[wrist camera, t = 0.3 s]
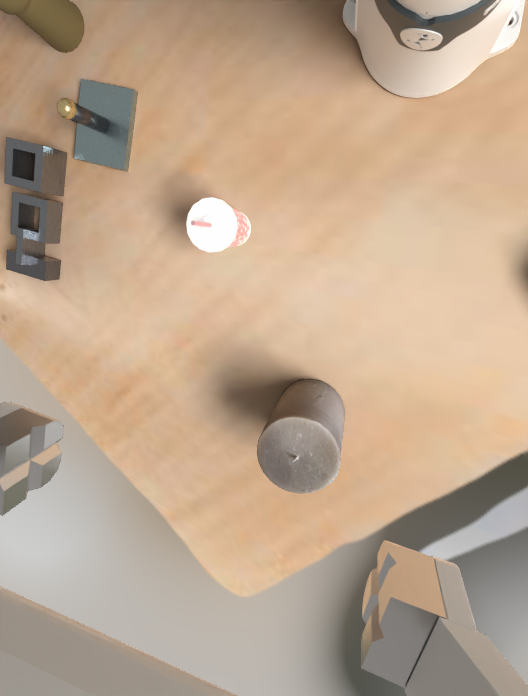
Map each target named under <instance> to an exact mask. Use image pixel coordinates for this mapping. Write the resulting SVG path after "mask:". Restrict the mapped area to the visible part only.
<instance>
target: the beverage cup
mask: <svg viewBox="0 0 528 696" xmlns="http://www.w3.org/2000/svg"><path fill="white" fill-rule="evenodd" d="M186 226H187V233H188V235H189V237H190V239H191V241H192V243H193V244H194V245H195V246H197V247H198V248H199V249H200V250H203V251H206V252H218V251H222V250H224V249H225V248H228V247H233V246H238V245H241V244H243V243H244V242H246V240H247V239H248V238H249V235H250V232H251V226H250V222H249V220H248V218H247V217H246V216H245V215H244V214H243V213H242V212H240V211H238V210H236V209H234V208H232V207H230V206H229V205H228V204H227V203H226V202H224V201H223V200H220V199H216V198H213V197H211V198H204V199H201V200H200V201H198V202H197V203H195V204H194V205H193V207H192V208H191V210H190V211H189V213H188V217H187V221H186Z"/></svg>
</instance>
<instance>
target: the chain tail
mask: <svg viewBox="0 0 528 696" xmlns="http://www.w3.org/2000/svg"><path fill="white" fill-rule="evenodd" d="M35 207H39V208H40V218H39V229H35V228H34V213H35ZM62 207H63V203H60V202H57V201H53V200H49V199H45V198H41V197H37V196H34V195H30V194H24V193H17V192H13V196H12V216H11V234H14V235H17V249H16V250H7V262H6V269H7V270H11V271H14V272H17V273H21V274H24V275H27V276H31V277H34V278H37V279H40V280H44V281H49V280H58V279H59V277H60V265H61V260H58V259H54V258H51V257H47V256H44V255H45V243H60V231H61V219H62Z"/></svg>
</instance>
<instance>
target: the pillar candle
mask: <svg viewBox="0 0 528 696" xmlns="http://www.w3.org/2000/svg"><path fill="white" fill-rule="evenodd" d="M344 418H345V408H344V405H343V401H342V399H341V397H340V396H339V394H338V393H337V392H336V390H335V389H333V388H332V387H331V386H330V385H328V384H326V383H324V382H322V381H319V380H313V379H308V380H300V381H298V382H295V383H293V384H291V385H290V386H289V387H287V388H286V390H285V391H284V392H283V394H282V396H281V398H280V400H279V402H278V403H277V405H276V407H275V408H274V410H273V412H272V414H271V416H270V418H269V420H268V422H267V424H266V425H265V427H264V429H263V432H262V434H261V436H260V438H259V440H258V447H257V456H258V461H259V464H260V466H261V468H262V470H263V472H264V474H265V475H266V476H267V477H268V478H269V480H270V481H271V482H273V483H274V484H275V485H277V486H278V487H280V488H282V489H284V490H286V491H289V492H294V493H311V492H314V491H318V490H320V489H322V488H324V487H325V486H327V485H328V484H330V483H332V482H333V480H334V478H336V476H337V475H338V471H339V466H340V461H341V458H340V456H341V446H342V438H343V429H344Z"/></svg>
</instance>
